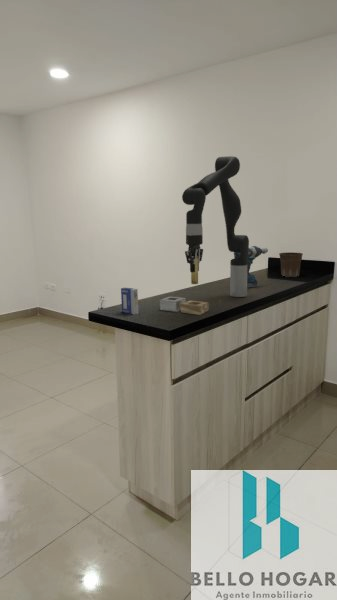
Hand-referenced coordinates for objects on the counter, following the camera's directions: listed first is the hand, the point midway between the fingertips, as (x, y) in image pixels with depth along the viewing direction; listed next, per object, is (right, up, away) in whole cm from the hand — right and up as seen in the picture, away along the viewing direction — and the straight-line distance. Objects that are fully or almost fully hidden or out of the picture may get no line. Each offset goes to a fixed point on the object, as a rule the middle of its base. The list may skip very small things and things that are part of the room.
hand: (194, 271), depth 190 cm
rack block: (0, -19, +4) cm, 19 cm away
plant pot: (+74, +3, +103) cm, 127 cm away
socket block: (-10, -18, +10) cm, 23 cm away
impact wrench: (+39, -5, +65) cm, 75 cm away
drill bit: (0, -6, +1) cm, 6 cm away
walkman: (-30, -20, +4) cm, 36 cm away
